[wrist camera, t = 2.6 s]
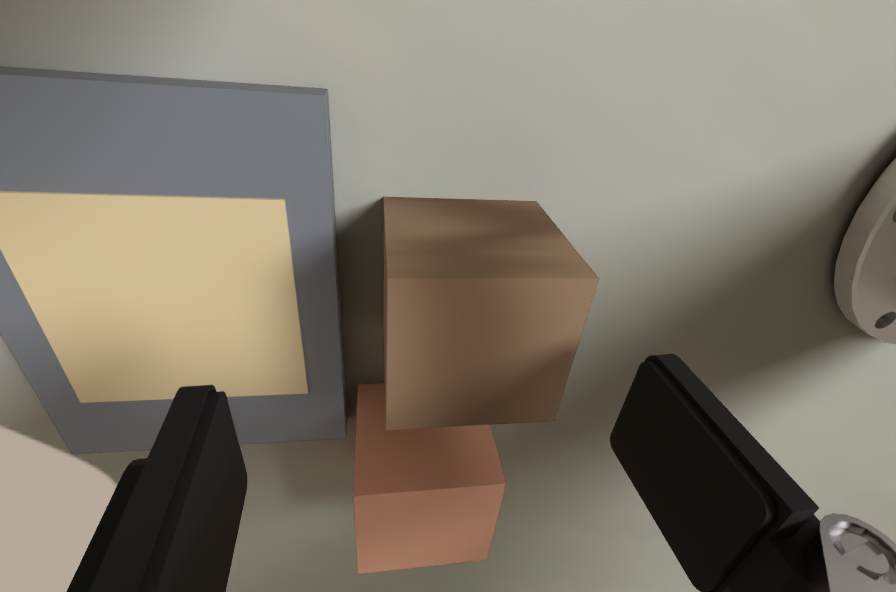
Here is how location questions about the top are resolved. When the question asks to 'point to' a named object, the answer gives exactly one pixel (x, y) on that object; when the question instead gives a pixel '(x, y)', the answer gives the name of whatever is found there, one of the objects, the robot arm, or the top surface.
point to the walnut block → (478, 312)
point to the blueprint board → (170, 253)
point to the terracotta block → (422, 491)
